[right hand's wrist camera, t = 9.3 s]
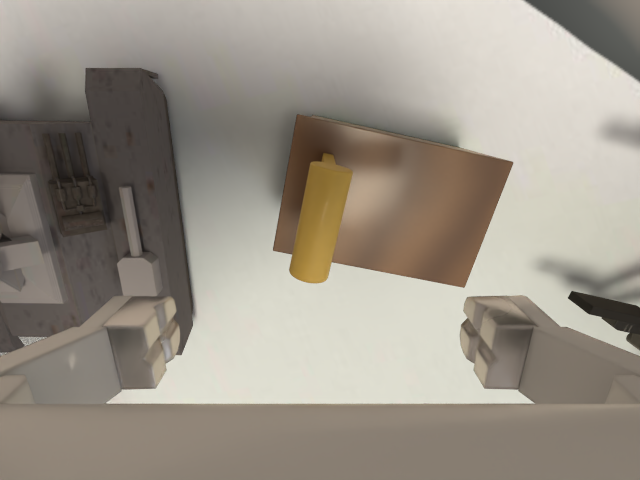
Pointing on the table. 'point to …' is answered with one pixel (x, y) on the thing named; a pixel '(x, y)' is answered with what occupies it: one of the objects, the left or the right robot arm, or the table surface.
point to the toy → (90, 211)
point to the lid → (384, 204)
